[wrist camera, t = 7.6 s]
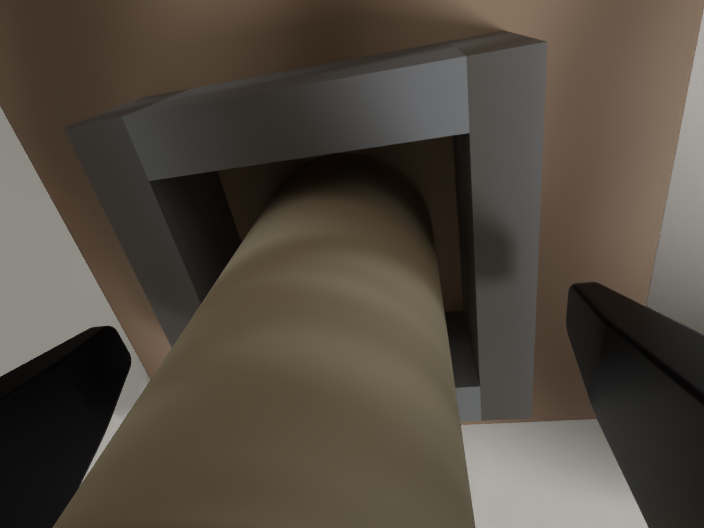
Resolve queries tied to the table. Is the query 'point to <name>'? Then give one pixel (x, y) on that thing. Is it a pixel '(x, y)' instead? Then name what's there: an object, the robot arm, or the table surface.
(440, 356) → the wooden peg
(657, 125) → the collar socket
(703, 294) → the table surface
